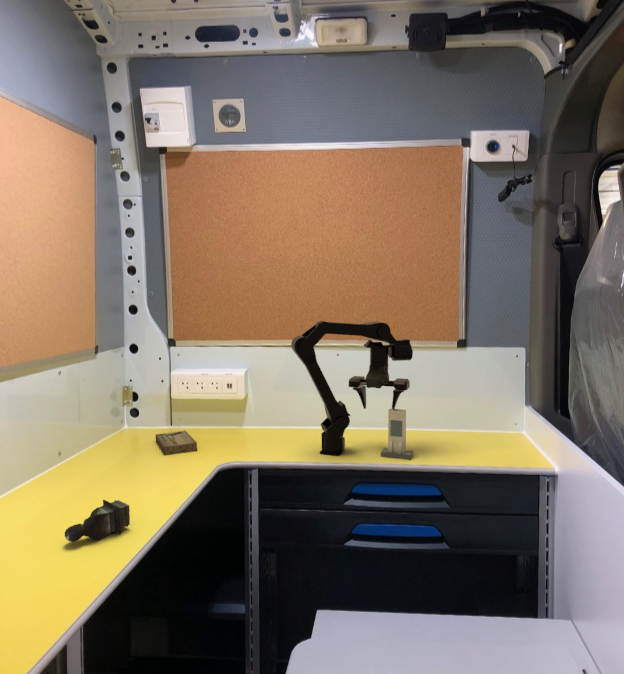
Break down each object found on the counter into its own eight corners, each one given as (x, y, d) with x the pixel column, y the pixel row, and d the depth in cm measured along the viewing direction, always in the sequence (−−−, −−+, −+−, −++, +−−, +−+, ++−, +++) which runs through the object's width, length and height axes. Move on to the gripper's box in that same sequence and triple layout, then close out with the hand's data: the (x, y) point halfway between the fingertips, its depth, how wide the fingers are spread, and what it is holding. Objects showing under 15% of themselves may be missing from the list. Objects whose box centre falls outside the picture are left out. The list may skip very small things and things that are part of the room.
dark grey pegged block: (380, 456, 166) (380, 440, 166) (384, 452, 171) (384, 436, 170) (409, 459, 163) (410, 443, 163) (412, 455, 168) (412, 439, 167)
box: (164, 457, 169) (163, 447, 168) (155, 442, 184) (154, 433, 184) (198, 451, 173) (197, 442, 173) (186, 438, 189) (186, 429, 188)
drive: (388, 451, 167) (388, 410, 165) (389, 449, 169) (390, 408, 168) (404, 453, 165) (404, 411, 164) (405, 450, 167) (406, 409, 166)
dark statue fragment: (60, 545, 110) (58, 515, 110) (115, 522, 121) (114, 495, 120) (78, 554, 107) (76, 523, 106) (133, 529, 117) (132, 501, 117)
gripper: (343, 363, 167) (343, 412, 169) (403, 366, 161) (403, 417, 162) (353, 358, 178) (353, 405, 179) (410, 361, 171) (409, 409, 173)
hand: (378, 409), depth 173 cm, fingers open, 9 cm apart
